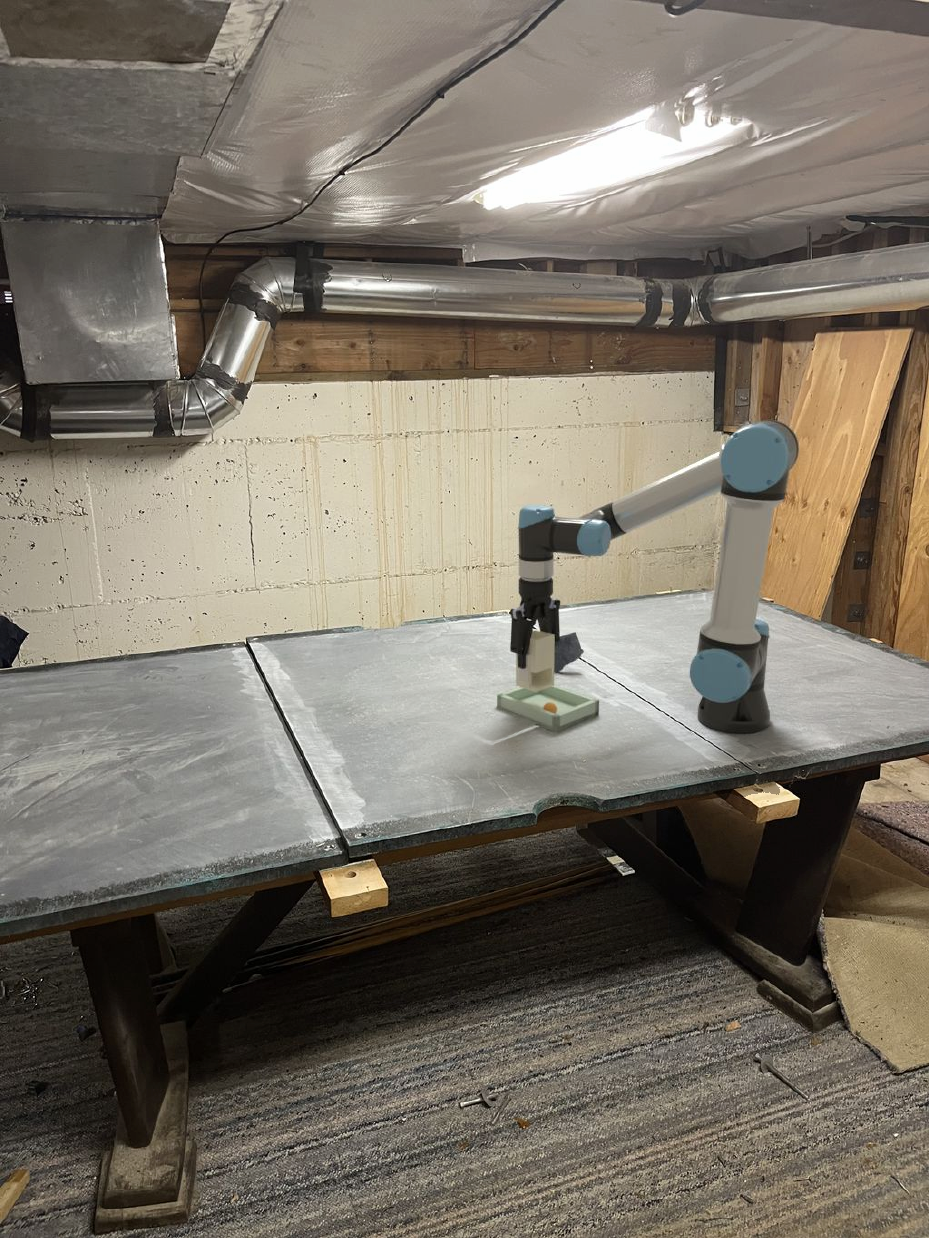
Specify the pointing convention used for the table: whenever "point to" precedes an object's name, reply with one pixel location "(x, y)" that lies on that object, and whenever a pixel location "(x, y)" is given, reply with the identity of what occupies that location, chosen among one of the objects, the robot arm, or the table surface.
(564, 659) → the stone
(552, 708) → the ball
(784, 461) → the robot arm
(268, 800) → the table surface
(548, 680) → the hollow box
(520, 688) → the tray
